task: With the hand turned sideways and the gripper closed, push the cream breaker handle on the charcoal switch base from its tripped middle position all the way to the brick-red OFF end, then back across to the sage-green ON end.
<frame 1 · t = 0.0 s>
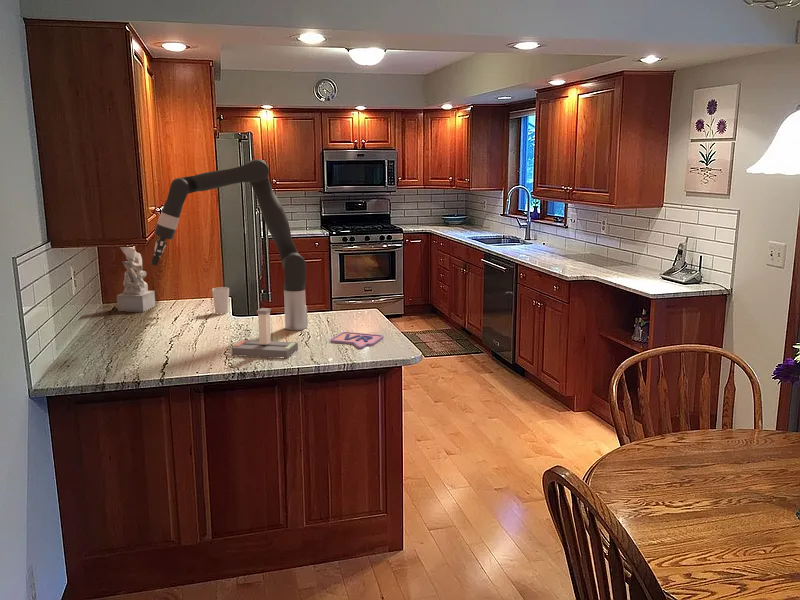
hand: (154, 263, 270), 31 cm above the table, tool tilted 20°, fingers open, 8 cm apart
breaker handle: (264, 326, 255), point 10 cm above the table, slide at 0.0 cm
cup: (221, 313, 324), on the table
icon: (354, 342, 274), on the table
switch base: (265, 352, 257), on the table
sculpture: (137, 309, 333), on the table
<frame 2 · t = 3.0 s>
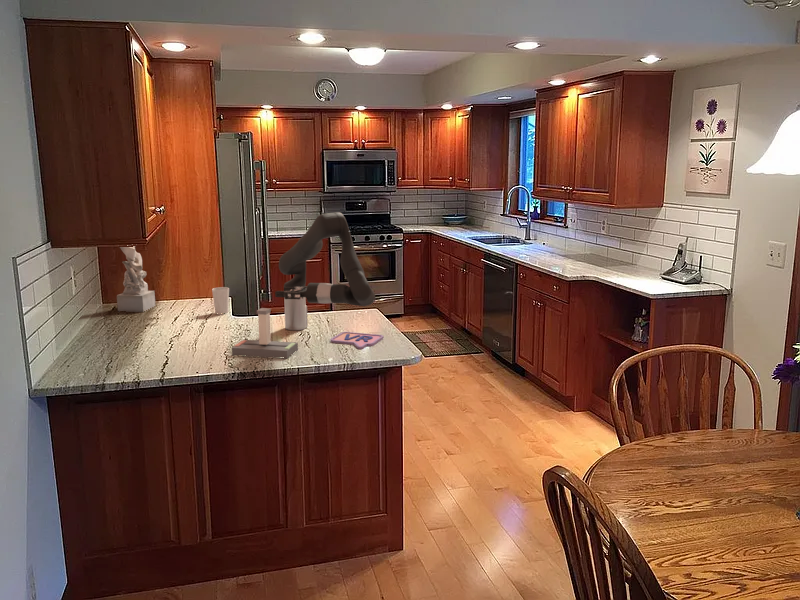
hand: (279, 291, 251), 24 cm above the table, tool horizontal, fingers open, 8 cm apart
nothing on the table moved.
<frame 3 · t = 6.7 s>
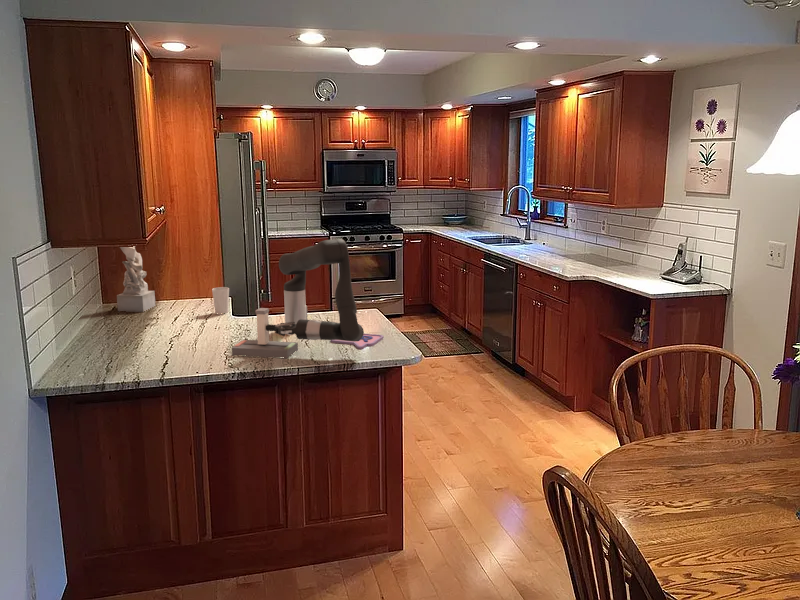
hand: (266, 327, 255), 10 cm above the table, tool horizontal, fingers closed
breaker handle: (262, 326, 255), point 10 cm above the table, slide at -0.6 cm, touching gripper
everything else where it was.
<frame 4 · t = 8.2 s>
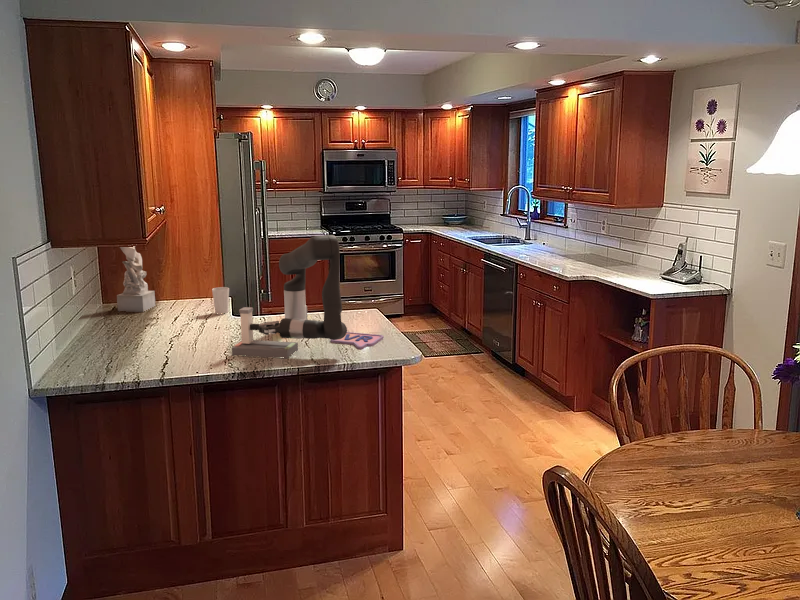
hand: (250, 326, 256), 10 cm above the table, tool horizontal, fingers closed
breaker handle: (246, 325, 256), point 10 cm above the table, slide at -7.1 cm, touching gripper
everything else where it was.
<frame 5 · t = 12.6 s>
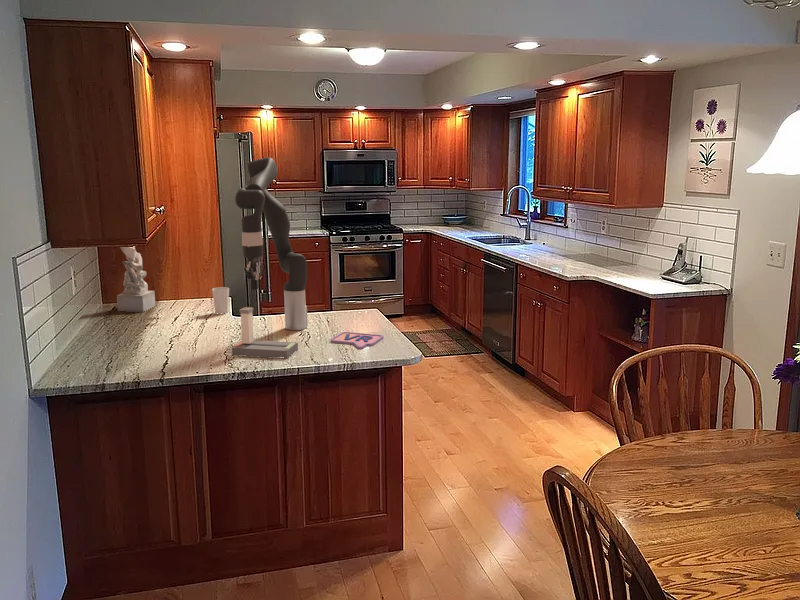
hand: (254, 289, 253), 25 cm above the table, tool pointing down, fingers closed
breaker handle: (247, 325, 256), point 10 cm above the table, slide at -7.0 cm
everything else where it was.
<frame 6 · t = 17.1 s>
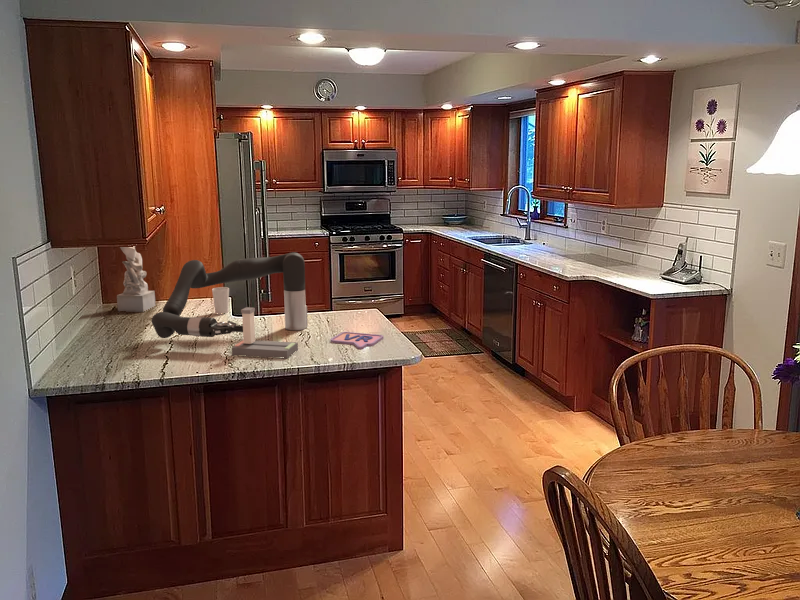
hand: (244, 328, 256), 9 cm above the table, tool horizontal, fingers closed
breaker handle: (248, 325, 256), point 10 cm above the table, slide at -6.4 cm
everything else where it was.
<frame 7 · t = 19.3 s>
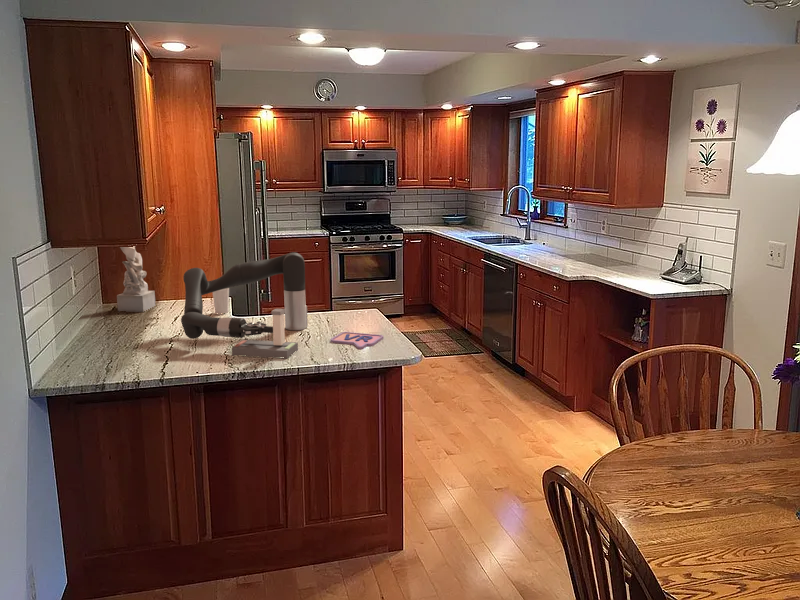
hand: (274, 329, 254), 9 cm above the table, tool horizontal, fingers closed
breaker handle: (278, 327, 254), point 10 cm above the table, slide at 5.7 cm, touching gripper
everything else where it was.
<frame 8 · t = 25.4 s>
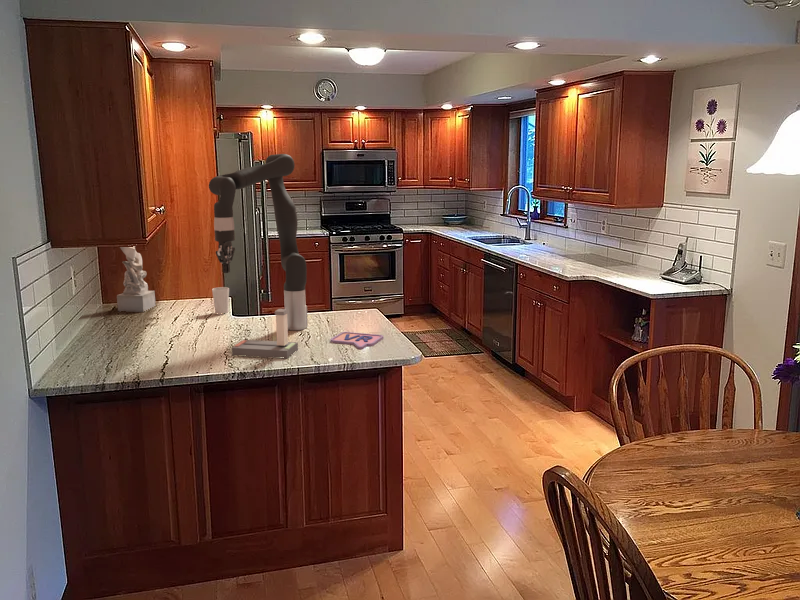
hand: (226, 272, 264), 29 cm above the table, tool pointing down, fingers closed
breaker handle: (282, 327, 254), point 10 cm above the table, slide at 7.0 cm
everything else where it was.
at the end: breaker handle slide at 7.0 cm; switch base tilted 0° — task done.
